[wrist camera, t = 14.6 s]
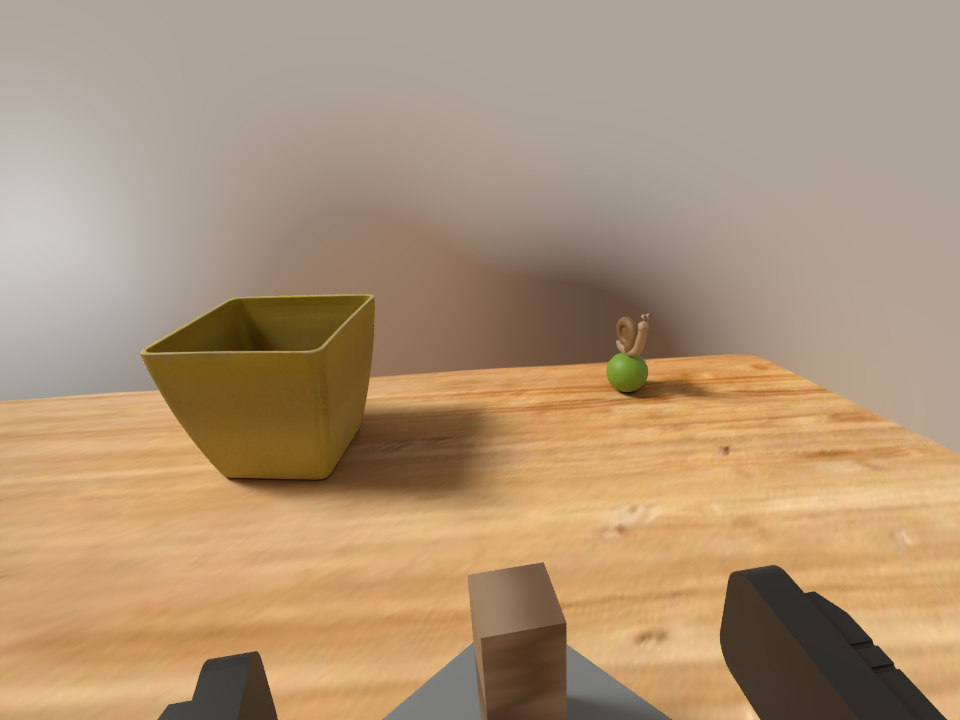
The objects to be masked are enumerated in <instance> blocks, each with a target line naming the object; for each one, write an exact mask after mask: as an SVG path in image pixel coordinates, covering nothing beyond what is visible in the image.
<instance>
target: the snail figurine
mask: <svg viewBox="0 0 960 720" xmlns="http://www.w3.org/2000/svg"><path fill="white" fill-rule="evenodd" d="M641 317H642V318H643V321H642V322H640V323H639V324H638V326H637V325H636V323H635V321H634V320H633V319H631V318H629V317H623V318H621V319H620V320H619V321H618V323H617V328H616V330H617V336H618V338H619V340H617V346H618V348H619V350H620V351H621V352H622V353H619V354H617V355H615V356H614V357H613V358H612V359H611V360H610V362H609V363H608V366H607V378H608V380H609V382H610V384H611V385H612V386H613V387H614V388H615V389H617V390H619V391H622V392H633V391H636V390H638V389H639V388H641V387H642V386H643V385H644V383H645V382H646V380H647V376H648V368H647V365H646V363H645V361H644V360H643V359H642V358H641V357H640V356H639V354H640V353H641V352H642V350H643V348H644V345H645V341H646V336H647V335H646V334H647V331H648V328H649V326H648V322H647V323H646V322H645V321H644V319H645V318H646V317H647V318H649V317H650V314H646V315H644V314H643V315H642V316H641Z"/></svg>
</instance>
